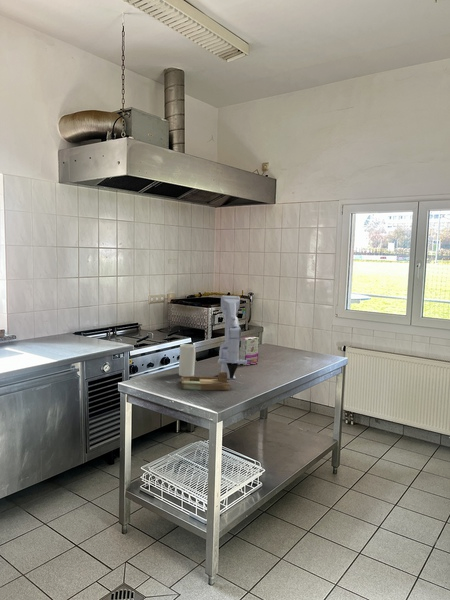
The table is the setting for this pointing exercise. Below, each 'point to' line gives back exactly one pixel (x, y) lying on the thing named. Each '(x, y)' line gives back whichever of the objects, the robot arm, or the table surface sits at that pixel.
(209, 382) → the trap tray
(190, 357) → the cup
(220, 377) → the walnut cube
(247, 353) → the candy bar box
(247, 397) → the table surface
